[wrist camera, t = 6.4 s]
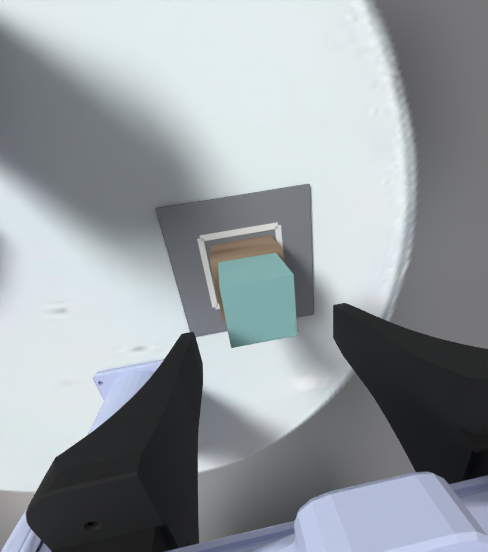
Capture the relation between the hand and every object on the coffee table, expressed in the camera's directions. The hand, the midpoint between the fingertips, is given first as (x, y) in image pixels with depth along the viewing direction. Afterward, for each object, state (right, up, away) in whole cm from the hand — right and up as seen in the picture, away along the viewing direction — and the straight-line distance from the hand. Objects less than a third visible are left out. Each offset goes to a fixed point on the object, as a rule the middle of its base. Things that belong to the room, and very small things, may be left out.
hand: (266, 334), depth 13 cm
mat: (-1, +4, +9) cm, 10 cm away
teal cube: (-1, +2, +5) cm, 6 cm away
